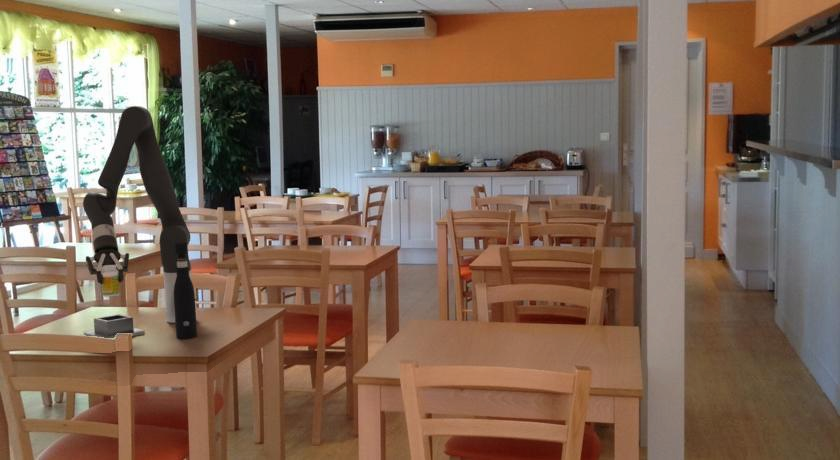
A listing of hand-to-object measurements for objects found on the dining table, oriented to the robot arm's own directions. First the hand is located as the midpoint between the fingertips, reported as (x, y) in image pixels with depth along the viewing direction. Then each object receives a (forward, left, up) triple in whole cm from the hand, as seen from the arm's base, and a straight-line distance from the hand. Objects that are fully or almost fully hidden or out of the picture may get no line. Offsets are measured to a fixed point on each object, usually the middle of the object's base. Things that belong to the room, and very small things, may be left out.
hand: (111, 281), depth 315 cm
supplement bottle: (0, -2, -5) cm, 5 cm away
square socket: (0, -2, -18) cm, 18 cm away
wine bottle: (-24, +9, -18) cm, 31 cm away
